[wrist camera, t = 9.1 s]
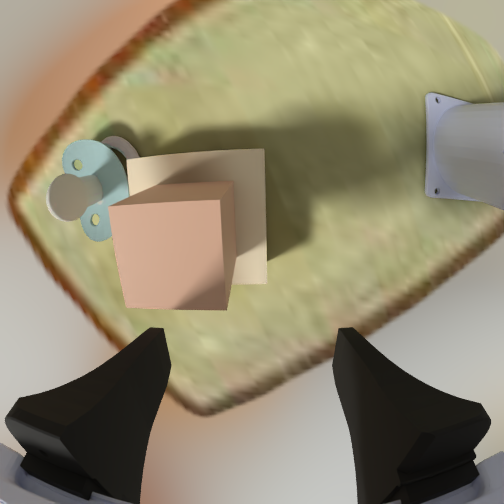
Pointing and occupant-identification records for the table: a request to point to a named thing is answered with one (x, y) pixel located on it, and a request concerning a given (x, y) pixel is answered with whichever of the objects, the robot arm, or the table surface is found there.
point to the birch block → (245, 196)
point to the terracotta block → (176, 245)
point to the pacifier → (91, 184)
